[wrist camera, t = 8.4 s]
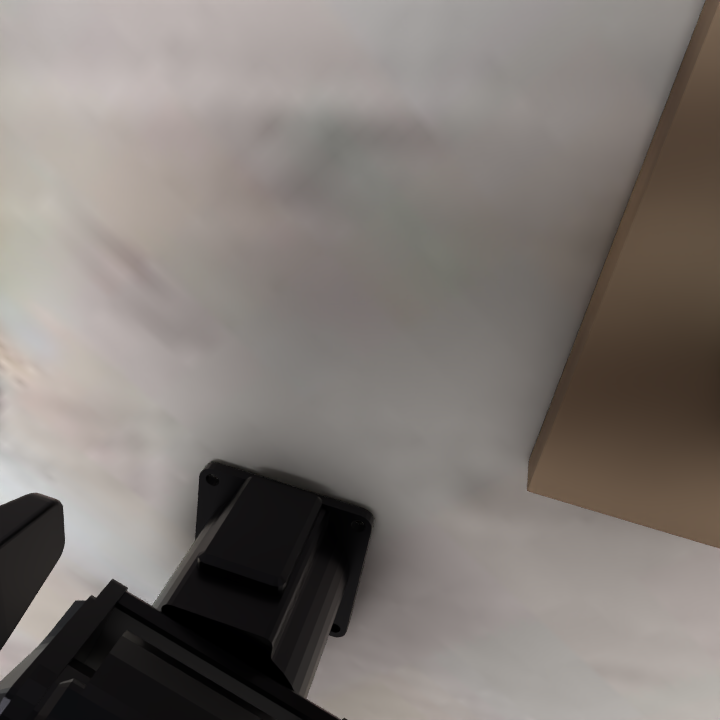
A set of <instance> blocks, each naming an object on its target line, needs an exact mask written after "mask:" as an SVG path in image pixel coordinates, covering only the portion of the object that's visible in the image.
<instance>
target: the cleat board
mask: <svg viewBox="0 0 720 720" xmlns="http://www.w3.org/2000/svg"><path fill="white" fill-rule="evenodd" d="M527 491H529V492H532V493H536V494H539V495H542V496H546V497H549V498H552V499H556V500H559V501H562V502H566V503H569V504H572V505H576V506H579V507H583V508H586V509H589V510H593V511H596V512H599V513H603V514H606V515H609V516H613V517H616V518H619V519H623V520H626V521H629V522H633V523H636V524H639V525H643V526H646V527H650V528H653V529H656V530H660V531H663V532H666V533H670V534H673V535H676V536H680V537H683V538H686V539H690V540H693V541H696V542H700V543H703V544H706V545H710V546H713V547H716V548H720V0H706V1H705V4H704V6H703V9H702V11H701V14H700V17H699V19H698V22H697V24H696V27H695V30H694V32H693V35H692V37H691V40H690V43H689V45H688V48H687V50H686V53H685V56H684V58H683V61H682V63H681V66H680V69H679V71H678V74H677V76H676V79H675V82H674V84H673V87H672V89H671V92H670V95H669V97H668V100H667V102H666V105H665V108H664V110H663V113H662V116H661V118H660V121H659V123H658V126H657V129H656V131H655V134H654V136H653V139H652V142H651V144H650V147H649V149H648V152H647V155H646V157H645V160H644V162H643V165H642V168H641V170H640V173H639V175H638V178H637V181H636V183H635V186H634V188H633V191H632V194H631V196H630V199H629V201H628V204H627V207H626V209H625V212H624V214H623V217H622V220H621V222H620V225H619V227H618V230H617V233H616V235H615V238H614V240H613V243H612V246H611V248H610V251H609V253H608V256H607V259H606V261H605V264H604V267H603V269H602V272H601V274H600V277H599V280H598V282H597V285H596V287H595V290H594V293H593V295H592V298H591V300H590V303H589V306H588V308H587V311H586V313H585V316H584V319H583V321H582V324H581V326H580V329H579V332H578V334H577V337H576V339H575V342H574V345H573V347H572V350H571V352H570V355H569V358H568V360H567V363H566V365H565V368H564V371H563V373H562V376H561V378H560V381H559V384H558V386H557V389H556V391H555V394H554V397H553V399H552V402H551V404H550V407H549V410H548V412H547V415H546V418H545V420H544V423H543V425H542V428H541V431H540V433H539V436H538V438H537V441H536V444H535V446H534V449H533V451H532V454H531V457H530V459H529V464H528V483H527Z"/></svg>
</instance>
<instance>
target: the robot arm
mask: <svg viewBox="0 0 720 720" xmlns="http://www.w3.org/2000/svg"><path fill="white" fill-rule="evenodd" d="M211 474H212V475H214V476H216V477H217V478H218V479H216V478H214V477H213V476H212V475H211ZM355 520H358V521H361V522H363V524H359V523H357V522H356V521H355ZM373 526H374V517H373V515H372V514H371V513H370V512H369V511H368V510H366V509H364V508H361V507H358V506H355V505H351V504H348V503H345V502H342V501H339V500H335V499H332V498H329V497H326V496H323V495H319V494H316V493H313V492H310V491H307V490H303V489H300V488H297V487H294V486H291V485H287V484H284V483H281V482H278V481H275V480H271V479H268V478H265V477H262V476H259V475H255V474H252V473H249V472H246V471H243V470H239V469H236V468H233V467H230V466H226V465H223V464H220V463H216V462H211V463H208V464H207V465H206V466H205V467H204V469H203V470H202V471H201V473H200V476H199V491H198V506H197V521H196V536H195V542H194V543H193V545H192V546H191V548H190V549H189V551H188V552H187V554H186V555H185V557H184V558H183V560H182V561H181V563H180V564H179V566H178V568H177V569H176V571H175V572H174V574H173V575H172V577H171V578H170V580H169V581H168V583H167V584H166V586H165V587H164V589H163V590H162V592H161V593H160V595H159V596H158V598H157V599H156V601H155V602H154V604H153V605H152V606H151V605H149V604H148V603H146V602H144V601H143V600H141V599H139V598H138V597H136V596H134V595H133V594H131V593H129V592H128V591H127V589H128V588H127V587H126V586H124V585H122V584H121V583H119V582H117V581H116V580H114V579H112V580H111V581H110V582H109V583H108V585H107V586H106V587H105V588H104V589H103V591H102V592H101V593H100V594H99V595H98V596H97V598H96V597H94V596H92V595H91V596H90V597H89V598H88V599H87V600H86V601H75V602H74V603H73V604H72V606H71V607H70V608H69V609H68V611H67V612H66V613H65V614H64V616H63V617H62V618H61V619H60V621H59V622H58V623H57V624H56V626H55V627H54V628H53V629H52V631H51V632H50V633H49V634H48V636H47V637H46V638H45V639H44V640H43V641H42V642H41V644H40V645H39V646H38V647H37V648H36V649H35V650H34V651H33V652H32V653H31V654H29V655H28V656H27V657H26V658H25V659H24V660H23V661H22V662H21V663H20V664H19V665H18V666H16V667H15V668H14V669H13V670H12V671H11V672H10V673H9V674H8V675H7V676H6V677H5V678H3V679H2V680H1V681H0V720H341V719H339V718H338V717H336V716H334V715H333V714H331V713H329V712H328V711H326V710H324V709H323V708H321V707H319V706H318V705H316V704H314V703H313V702H311V701H309V700H308V699H306V698H307V695H308V692H309V689H310V687H311V684H312V681H313V678H314V675H315V672H316V670H317V667H318V664H319V661H320V658H321V655H322V653H323V650H324V647H325V644H326V641H327V638H328V636H329V635H330V636H334V637H342V636H344V635H345V633H346V632H347V628H348V625H349V622H350V618H351V614H352V610H353V606H354V602H355V598H356V594H357V590H358V586H359V582H360V578H361V574H362V570H363V566H364V562H365V558H366V554H367V550H368V546H369V542H370V538H371V534H372V530H373ZM64 544H65V533H64V515H63V505H62V504H61V502H60V501H59V500H57V499H54V498H51V497H48V496H46V495H43V494H39V493H30V494H27V495H24V496H22V497H20V498H17V499H15V500H12V501H10V502H8V503H5V504H3V505H1V506H0V650H1V649H2V647H3V646H4V644H5V643H6V641H7V640H8V638H9V637H10V635H11V634H12V632H13V631H14V629H15V627H16V626H17V624H18V623H19V621H20V620H21V618H22V616H23V615H24V613H25V612H26V610H27V609H28V607H29V605H30V604H31V602H32V601H33V599H34V598H35V596H36V594H37V593H38V591H39V590H40V588H41V587H42V585H43V583H44V582H45V580H46V579H47V577H48V576H49V574H50V572H51V571H52V569H53V568H54V566H55V565H56V563H57V561H58V560H59V558H60V556H61V554H62V552H63V549H64ZM342 720H347V719H345V718H344V719H342Z"/></svg>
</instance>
